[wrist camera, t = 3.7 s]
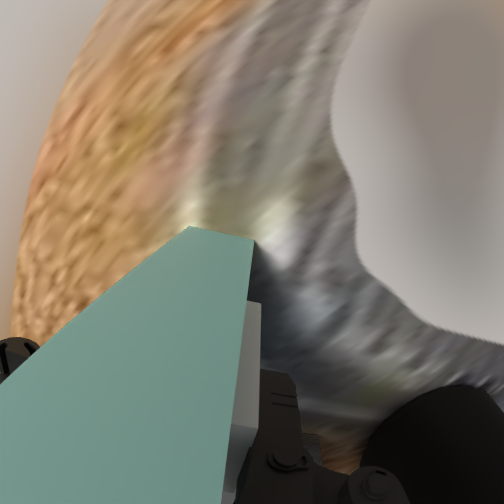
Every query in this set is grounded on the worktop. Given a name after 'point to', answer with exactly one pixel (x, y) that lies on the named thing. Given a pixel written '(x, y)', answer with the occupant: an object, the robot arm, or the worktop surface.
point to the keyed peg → (134, 386)
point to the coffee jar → (444, 447)
